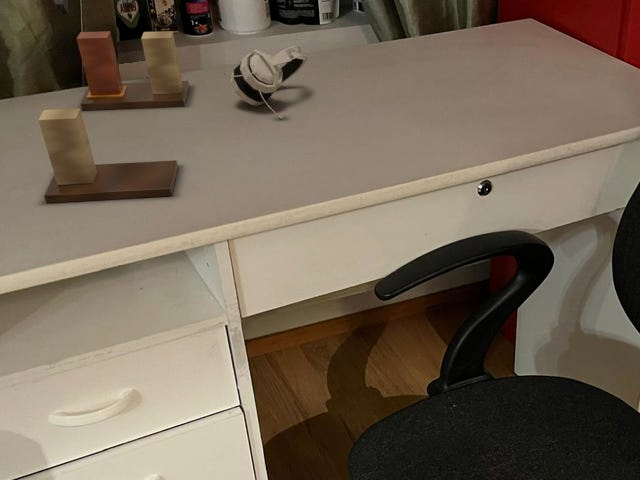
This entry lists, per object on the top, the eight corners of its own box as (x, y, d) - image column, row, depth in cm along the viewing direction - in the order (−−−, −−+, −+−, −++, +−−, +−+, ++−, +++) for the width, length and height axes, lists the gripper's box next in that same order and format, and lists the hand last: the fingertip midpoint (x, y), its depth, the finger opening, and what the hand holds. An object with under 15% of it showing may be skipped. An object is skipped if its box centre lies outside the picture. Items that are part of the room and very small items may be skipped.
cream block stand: (46, 203, 100) (23, 128, 94) (60, 173, 106) (39, 102, 100) (171, 196, 102) (156, 122, 96) (178, 167, 108) (164, 97, 103)
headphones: (184, 120, 119) (279, 83, 133) (241, 138, 115) (331, 97, 130) (176, 60, 114) (275, 28, 129) (234, 76, 110) (329, 41, 125)
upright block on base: (82, 110, 122) (65, 46, 117) (91, 90, 128) (76, 28, 123) (184, 106, 124) (172, 42, 119) (189, 86, 131) (178, 25, 125)
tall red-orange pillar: (90, 95, 124) (76, 38, 119) (94, 88, 126) (80, 32, 121) (120, 94, 124) (106, 37, 119) (123, 87, 127) (110, 31, 122)
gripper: (27, -112, 119) (32, -3, 117) (134, -113, 122) (141, -6, 120) (46, -78, 127) (51, 25, 125) (147, -79, 129) (154, 23, 127)
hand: (95, 10), depth 122 cm, fingers open, 8 cm apart
